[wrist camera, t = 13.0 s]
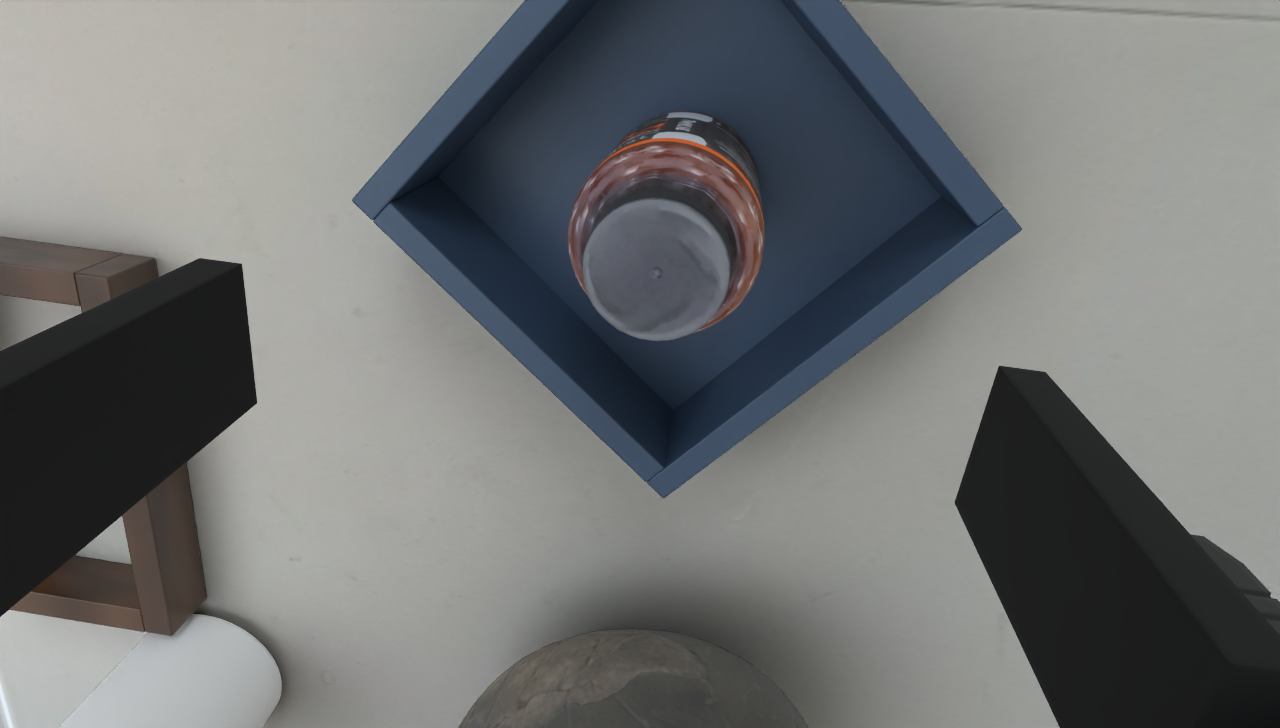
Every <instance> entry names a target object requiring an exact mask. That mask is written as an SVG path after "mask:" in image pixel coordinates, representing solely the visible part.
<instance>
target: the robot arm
mask: <svg viewBox="0 0 1280 728" xmlns="http://www.w3.org/2000/svg"><path fill="white" fill-rule="evenodd" d="M256 403H257V398H256V389H255V380H254V371H253V361H252V352H251V343H250V334H249V325H248V316H247V306H246V297H245V288H244V279H243V270H242V264H238V263H231V262H224V261H216V260H209V259H201V258H199V259H197V260H195V261H193V262H191V263H189V264H186V265H184V266H182V267H180V268H178V269H176V270H174V271H171V272H169V273H167V274H165V275H163V276H161V277H159V278H156V279H154V280H152V281H150V282H148V283H146V284H144V285H141V286H139V287H137V288H135V289H133V290H131V291H129V292H126V293H124V294H122V295H120V296H118V297H116V298H114V299H111V300H109V301H107V302H105V303H103V304H101V305H99V306H96V307H94V308H92V309H90V310H88V311H86V312H84V313H81V314H79V315H77V316H75V317H73V318H71V319H68V320H66V321H64V322H62V323H60V324H58V325H56V326H53V327H51V328H49V329H47V330H45V331H43V332H41V333H38V334H36V335H34V336H32V337H30V338H28V339H26V340H23V341H21V342H19V343H17V344H15V345H13V346H11V347H8V348H6V349H4V350H2V351H0V617H1V616H2V615H3V614H4V613H5V612H7V611H8V610H9V609H10V608H11V607H13V606H14V605H15V604H16V603H17V602H19V601H20V600H21V599H22V598H23V597H25V596H26V595H27V594H28V593H29V592H31V591H32V590H33V589H34V588H35V587H37V586H38V585H39V584H40V583H41V582H43V581H44V580H45V579H46V578H47V577H49V576H50V575H51V574H52V573H53V572H55V571H56V570H57V569H58V568H59V567H61V566H62V565H63V564H64V563H65V562H67V561H68V560H69V559H70V558H71V557H73V556H74V555H75V554H76V553H77V552H79V551H80V550H81V549H82V548H83V547H85V546H86V545H87V544H88V543H89V542H91V541H92V540H93V539H94V538H95V537H97V536H98V535H99V534H100V533H101V532H103V531H104V530H105V529H106V528H107V527H109V526H110V525H111V524H112V523H113V522H115V521H116V520H117V519H118V518H119V517H121V516H122V515H123V514H124V513H126V512H127V511H128V510H129V509H130V508H132V507H133V506H134V505H135V504H136V503H138V502H139V501H140V500H141V499H142V498H144V497H145V496H146V495H147V494H148V493H150V492H151V491H152V490H153V489H154V488H156V487H157V486H158V485H159V484H160V483H162V482H163V481H164V480H165V479H166V478H168V477H169V476H170V475H171V474H172V473H174V472H175V471H176V470H177V469H178V468H180V467H181V466H182V465H183V464H184V463H186V462H187V461H188V460H189V459H190V458H192V457H193V456H194V455H195V454H196V453H198V452H199V451H200V450H201V449H202V448H204V447H205V446H206V445H207V444H208V443H210V442H211V441H212V440H213V439H214V438H216V437H217V436H218V435H219V434H220V433H222V432H223V431H224V430H225V429H226V428H228V427H229V426H230V425H231V424H232V423H234V422H235V421H236V420H237V419H238V418H240V417H241V416H242V415H243V414H244V413H246V412H247V411H248V410H249V409H250V408H252V407H253V406H254V405H255V404H256ZM955 505H956V507H957V509H958V511H959V513H960V515H961V517H962V520H963V522H964V524H965V526H966V528H967V530H968V532H969V534H970V537H971V539H972V541H973V543H974V545H975V547H976V549H977V552H978V554H979V556H980V558H981V560H982V562H983V564H984V567H985V569H986V571H987V573H988V575H989V577H990V579H991V581H992V584H993V586H994V588H995V590H996V592H997V594H998V596H999V599H1000V601H1001V603H1002V605H1003V607H1004V609H1005V611H1006V614H1007V616H1008V618H1009V620H1010V622H1011V624H1012V626H1013V628H1014V631H1015V633H1016V635H1017V637H1018V639H1019V641H1020V643H1021V646H1022V648H1023V650H1024V652H1025V654H1026V656H1027V658H1028V661H1029V663H1030V665H1031V667H1032V669H1033V671H1034V673H1035V675H1036V678H1037V680H1038V682H1039V684H1040V686H1041V688H1042V690H1043V693H1044V695H1045V697H1046V699H1047V701H1048V703H1049V705H1050V707H1051V710H1052V712H1053V714H1054V716H1055V718H1056V720H1057V722H1058V725H1059V727H1060V728H1280V602H1279V601H1278V600H1277V599H1273V598H1271V597H1270V594H1271V593H1270V592H1269V591H1268V590H1267V589H1266V587H1265V586H1264V585H1263V584H1262V583H1261V582H1260V581H1259V580H1258V579H1257V578H1256V577H1255V576H1254V575H1253V574H1252V573H1251V572H1250V570H1249V569H1248V568H1247V567H1246V566H1245V565H1244V564H1243V563H1241V562H1240V561H1238V560H1237V559H1236V558H1234V557H1233V556H1231V555H1230V554H1228V553H1227V552H1225V551H1224V550H1223V549H1221V548H1220V547H1218V546H1217V545H1215V544H1214V543H1212V542H1211V541H1209V540H1208V539H1207V538H1205V537H1203V536H1196V535H1190V534H1189V533H1188V531H1187V530H1186V529H1185V528H1184V527H1183V526H1182V525H1181V524H1180V522H1179V521H1178V520H1177V519H1176V518H1175V517H1174V516H1173V515H1172V513H1171V512H1170V511H1169V510H1168V509H1167V508H1166V507H1165V506H1164V504H1163V503H1162V502H1161V501H1160V500H1159V499H1158V498H1157V497H1156V496H1155V494H1154V493H1153V492H1152V491H1151V490H1150V489H1149V488H1148V487H1147V485H1146V484H1145V483H1144V482H1143V481H1142V480H1141V479H1140V478H1139V476H1138V475H1137V474H1136V473H1135V472H1134V471H1133V470H1132V469H1131V467H1130V466H1129V465H1128V464H1127V463H1126V462H1125V461H1124V460H1123V459H1122V457H1121V456H1120V455H1119V454H1118V453H1117V452H1116V451H1115V450H1114V448H1113V447H1112V446H1111V445H1110V444H1109V443H1108V442H1107V441H1106V439H1105V438H1104V437H1103V436H1102V435H1101V434H1100V433H1099V432H1098V430H1097V429H1096V428H1095V427H1094V426H1093V425H1092V424H1091V423H1090V421H1089V420H1088V419H1087V418H1086V417H1085V416H1084V415H1083V414H1082V413H1081V411H1080V410H1079V409H1078V408H1077V407H1076V406H1075V405H1074V404H1073V402H1072V401H1071V400H1070V399H1069V398H1068V397H1067V396H1066V395H1065V393H1064V392H1063V391H1062V390H1061V389H1060V388H1059V387H1058V386H1057V384H1056V383H1055V382H1054V381H1053V380H1052V379H1051V378H1050V377H1049V376H1048V374H1047V373H1046V372H1041V371H1034V370H1026V369H1019V368H1011V367H1004V366H999V368H998V371H997V374H996V377H995V380H994V383H993V386H992V389H991V392H990V395H989V398H988V401H987V405H986V408H985V411H984V414H983V417H982V420H981V423H980V426H979V429H978V432H977V435H976V438H975V441H974V445H973V448H972V451H971V454H970V457H969V460H968V463H967V466H966V469H965V472H964V475H963V478H962V482H961V485H960V488H959V491H958V494H957V497H956V500H955Z"/></svg>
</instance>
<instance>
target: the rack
mask: <svg viewBox="0 0 1280 728" xmlns="http://www.w3.org/2000/svg"><path fill="white" fill-rule="evenodd" d="M156 278H158V275H157V269H156V262H155V259H154V258H149V257H142V256H135V255H128V254H122V253H115V252H108V251H100V250H93V249H86V248H79V247H72V246H64V245H57V244H50V243H43V242H36V241H28V240H21V239H14V238H7V237H0V295H6V296H13V297H20V298H27V299H34V300H41V301H48V302H55V303H62V304H69V305H76V306H81V309H82V313H84V312H86V311H88V310H90V309H92V308H94V307H96V306H99V305H101V304H103V303H105V302H107V301H109V300H111V299H114V298H116V297H118V296H120V295H122V294H124V293H126V292H129V291H131V290H133V289H135V288H137V287H139V286H141V285H144V284H146V283H148V282H150V281H152V280H154V279H156ZM122 517H123V522H124V527H125V532H126V537H127V542H128V547H129V552H130V557H131V562H132V565H127V564H121V563H114V562H108V561H102V560H96V559H90V558H83V557H77V556H73V557H71V558H70V559H69V560H68V561H67V562H65V563H64V564H63V565H62V566H61V567H59V568H58V569H57V570H56V571H55V572H53V573H52V574H51V575H50V576H49V577H47V578H46V579H45V580H44V581H43V582H41V583H40V584H39V585H38V586H37V587H35V588H34V589H33V590H32V591H31V592H29V593H28V594H27V595H26V596H25V597H23V598H22V599H21V600H20V601H19V602H17V603H16V604H15V605H14V606H13V607H11V608H10V609H9V610H15V611H21V612H27V613H33V614H39V615H45V616H51V617H57V618H63V619H69V620H75V621H81V622H87V623H93V624H99V625H105V626H111V627H117V628H123V629H129V630H135V631H141V632H145V631H146V632H149V633H155V634H161V635H167V636H173V635H174V634H175V632H176V631H177V630H178V629H179V628H180V627H181V626H182V625H183V624H184V623H185V621H186V620H187V619H188V618H189V617H190V616H191V615H192V614H193V613H194V612H195V610H196V609H197V608H198V607H199V606H200V605H201V604H202V603H203V602H204V600H205V599H206V590H205V583H204V577H203V570H202V564H201V557H200V551H199V544H198V538H197V531H196V524H195V518H194V511H193V505H192V498H191V492H190V485H189V479H188V472H187V465H186V463H184V464H183V465H182V466H181V467H180V468H178V469H177V470H176V471H175V472H174V473H172V474H171V475H170V476H169V477H168V478H166V479H165V480H164V481H163V482H162V483H160V484H159V485H158V486H157V487H156V488H154V489H153V490H152V491H151V492H150V493H148V494H147V495H146V496H145V497H144V498H142V499H141V500H140V501H139V502H138V503H136V504H135V505H134V506H133V507H132V508H130V509H129V510H128V511H127V512H126V513H124V514H123V515H122Z"/></svg>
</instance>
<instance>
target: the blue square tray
mask: <svg viewBox="0 0 1280 728" xmlns="http://www.w3.org/2000/svg"><path fill="white" fill-rule="evenodd" d="M674 111H690V112H698V113H702V114H706V115H708V116H711V117H713V118H715V119H718V120H720V121H722V122H723V123H725V124H726V125H728V126H729V127H730V128H732V129H733V130H734V131H735V132H736V133H737V134H738V135H739V136H740V138H741V139H742V140H743V141H744V143H745V144H746V146H747V147H748V149H749V151H750V153H751V154H752V157H753V160H754V162H755V165H756V167H757V171H758V175H759V181H760V191H761V202H762V210H763V218H764V249H763V256H762V262H761V265H760V269H759V272H758V275H757V278H756V280H755V282H754V284H753V286H752V288H751V289H750V291H749V293H748V294H747V295H746V297H745V298H744V300H743V301H742V302H741V303H740V304H739V305H738V306H737V307H736V309H735V310H734V311H733V312H732V313H730V314H729V315H728V316H727V317H725V318H724V319H722V320H721V321H719V322H718V323H716V324H714V325H712V326H710V327H708V328H706V329H703V330H701V331H698V332H695V333H692V334H689V335H687V336H683V337H680V338H677V339H673V340H662V341H651V340H645V339H639V338H636V337H633V336H630V335H628V334H626V333H624V332H622V331H619V330H617V329H616V328H615V327H614V326H613V325H611V324H610V323H609V322H608V321H606V320H605V319H604V318H603V317H602V316H601V315H600V313H599V312H598V311H597V310H596V309H595V307H594V306H593V304H592V302H591V300H590V298H589V297H588V295H587V294H586V293H585V291H584V290H583V289H582V287H581V285H580V284H579V281H578V279H577V278H576V276H575V272H574V270H573V267H572V262H571V258H570V255H569V249H568V240H567V237H568V225H569V219H570V215H571V212H572V209H573V205H574V202H575V200H576V198H577V196H578V193H579V191H580V189H581V188H582V187H583V185H584V184H585V182H586V181H587V179H588V178H589V177H590V175H591V174H592V173H593V171H594V170H595V169H596V168H597V166H598V165H599V164H600V163H601V162H602V161H603V160H604V159H605V158H606V157H607V156H608V155H609V154H610V152H611V151H612V150H613V149H614V148H615V147H616V146H617V145H618V143H619V142H620V141H621V140H622V139H623V138H624V137H625V136H626V135H627V134H628V133H629V132H630V131H631V130H633V129H634V128H636V127H637V126H638V125H640V124H641V123H643V122H645V121H646V120H648V119H651V118H653V117H655V116H658V115H661V114H664V113H668V112H674ZM352 201H353V203H355V204H356V205H357V206H358V207H359V208H360V209H361V210H362V211H363V212H364V213H365V214H366V215H367V216H368V217H369V218H370V219H372V220H374V223H375V224H376V225H377V226H378V227H379V228H380V229H381V230H382V231H383V232H384V233H386V234H387V235H388V236H389V237H390V238H391V239H392V240H393V241H394V242H395V243H396V244H397V245H398V246H399V247H400V248H401V249H402V250H403V251H404V252H405V253H407V254H408V255H409V256H410V257H411V258H412V259H413V260H414V261H415V262H416V263H417V264H418V265H419V266H420V267H421V268H422V269H423V270H424V271H425V272H426V273H427V274H429V275H430V276H431V277H432V278H433V279H434V280H435V281H436V282H437V283H438V284H439V285H440V286H441V287H442V288H443V289H444V290H445V291H446V292H447V293H448V294H449V295H451V296H452V297H453V298H454V299H455V300H456V301H457V302H458V303H459V304H460V305H461V306H462V307H463V308H464V309H465V310H466V311H467V312H468V313H469V314H470V315H471V316H473V317H474V318H475V319H476V320H477V321H478V322H479V323H480V324H481V325H482V326H483V327H484V328H485V329H486V330H487V331H488V332H489V333H490V334H491V335H492V336H493V337H495V338H496V339H497V340H498V341H499V342H500V343H501V344H502V345H503V346H504V347H505V348H506V349H507V350H508V351H509V352H510V353H511V354H512V355H513V356H514V357H515V358H517V359H518V360H519V361H520V362H521V363H522V364H523V365H524V366H525V367H526V368H527V369H528V370H529V371H530V372H531V373H532V374H533V375H534V376H535V377H536V378H537V379H539V380H540V381H541V382H542V383H543V384H544V385H545V386H546V387H547V388H548V389H549V390H550V391H551V392H552V393H553V394H554V395H555V396H556V397H557V398H558V399H559V400H561V401H562V402H563V403H564V404H565V405H566V406H567V407H568V408H569V409H570V410H571V411H572V412H573V413H574V414H575V415H576V416H577V417H578V418H579V419H580V420H581V421H583V422H584V423H585V424H586V425H587V426H588V427H589V428H590V429H591V430H592V431H593V432H594V433H595V434H596V435H597V436H598V437H599V438H600V439H601V440H602V441H604V442H605V443H606V444H607V445H608V446H609V447H610V448H611V449H612V450H613V451H614V452H615V453H616V454H617V455H618V456H619V457H620V458H621V459H622V460H623V461H624V462H626V463H627V464H628V465H629V466H630V467H631V468H632V469H633V470H634V471H635V472H636V473H637V474H638V475H639V476H640V477H641V478H642V479H643V480H644V481H646V482H647V483H648V484H649V485H650V486H651V487H652V488H653V489H654V490H655V491H656V492H657V493H658V494H659V495H660V496H661V497H662V498H665V497H666V496H668V495H669V494H670V493H672V492H673V491H674V490H676V489H677V488H678V487H680V486H681V485H682V484H684V483H685V482H686V481H688V480H689V479H690V478H692V477H693V476H694V475H696V474H697V473H698V472H700V471H701V470H702V469H704V468H705V467H706V466H708V465H709V464H710V463H712V462H713V461H714V460H716V459H717V458H718V457H720V456H721V455H722V454H724V453H725V452H726V451H728V450H729V449H730V448H732V447H733V446H734V445H736V444H737V443H738V442H740V441H741V440H742V439H744V438H745V437H746V436H748V435H749V434H750V433H752V432H753V431H754V430H756V429H757V428H758V427H760V426H761V425H762V424H764V423H765V422H766V421H768V420H769V419H770V418H772V417H773V416H774V415H776V414H777V413H778V412H780V411H781V410H782V409H784V408H785V407H786V406H788V405H789V404H790V403H792V402H793V401H794V400H796V399H797V398H798V397H800V396H801V395H802V394H804V393H805V392H806V391H808V390H809V389H810V388H812V387H813V386H814V385H816V384H817V383H818V382H820V381H821V380H822V379H824V378H825V377H826V376H828V375H829V374H830V373H832V372H833V371H834V370H836V369H837V368H838V367H840V366H841V365H842V364H844V363H845V362H846V361H848V360H849V359H851V358H852V357H853V356H855V355H856V354H857V353H859V352H860V351H861V350H863V349H864V348H865V347H867V346H868V345H869V344H871V343H872V342H873V341H875V340H876V339H877V338H879V337H880V336H881V335H883V334H884V333H885V332H887V331H888V330H889V329H891V328H892V327H893V326H895V325H896V324H897V323H899V322H900V321H901V320H903V319H904V318H905V317H907V316H908V315H909V314H911V313H912V312H913V311H915V310H916V309H917V308H919V307H920V306H921V305H923V304H924V303H925V302H927V301H928V300H929V299H931V298H932V297H933V296H935V295H936V294H937V293H939V292H940V291H941V290H943V289H944V288H945V287H947V286H948V285H949V284H951V283H952V282H953V281H955V280H956V279H957V278H959V277H960V276H961V275H963V274H964V273H965V272H967V271H968V270H969V269H971V268H972V267H973V266H975V265H976V264H977V263H979V262H980V261H981V260H983V259H984V258H985V257H987V256H988V255H989V254H991V253H992V252H993V251H995V250H996V249H997V248H999V247H1000V246H1001V245H1003V244H1004V243H1005V242H1007V241H1008V240H1009V239H1011V238H1012V237H1013V236H1015V235H1016V234H1017V233H1019V232H1020V231H1021V230H1022V228H1021V227H1020V225H1019V224H1018V223H1017V222H1016V220H1015V219H1014V218H1013V217H1012V215H1011V214H1010V213H1009V212H1008V210H1007V209H1006V208H1005V207H1003V204H1002V203H1001V202H1000V201H999V199H998V198H997V197H996V196H995V194H994V193H993V192H992V191H991V189H990V188H989V187H988V186H987V184H986V183H985V182H984V181H983V179H982V178H981V177H980V176H979V174H978V173H977V172H976V171H975V169H974V168H973V167H972V166H971V164H970V163H969V162H968V161H967V159H966V158H965V157H964V156H963V154H962V153H961V152H960V151H959V149H958V148H957V147H956V146H955V144H954V143H953V142H952V141H951V139H950V138H949V137H948V136H947V134H946V133H945V132H944V131H943V129H942V128H941V127H940V126H939V124H938V123H937V122H936V121H935V119H934V118H933V117H932V116H931V114H930V113H929V112H928V111H927V109H926V108H925V107H924V106H923V104H922V103H921V102H920V101H919V99H918V98H917V97H916V96H915V94H914V93H913V92H912V91H911V89H910V88H909V87H908V86H907V84H906V83H905V82H904V81H903V79H902V78H901V77H900V76H899V74H898V73H897V72H896V71H895V69H894V68H893V67H892V66H891V64H890V63H889V62H888V61H887V59H886V58H885V57H884V56H883V54H882V53H881V52H880V51H879V49H878V48H877V47H876V46H875V44H874V43H873V42H872V41H871V39H870V38H869V37H868V36H867V34H866V33H865V32H864V31H863V29H862V28H861V27H860V26H859V24H858V23H857V22H856V21H855V19H854V18H853V17H852V16H851V14H850V13H849V12H848V11H847V9H846V8H845V7H844V6H843V4H842V3H841V2H840V1H839V0H525V1H524V2H523V3H522V5H521V6H520V7H519V8H518V9H517V10H516V11H515V13H514V14H513V15H512V16H511V17H510V18H509V20H508V21H507V22H506V23H505V24H504V25H503V26H502V28H501V29H500V30H499V31H498V32H497V33H496V34H495V36H494V37H493V38H492V39H491V40H490V41H489V43H488V44H487V45H486V46H485V47H484V48H483V49H482V51H481V52H480V53H479V54H478V55H477V56H476V57H475V59H474V60H473V61H472V62H471V63H470V64H469V66H468V67H467V68H466V69H465V70H464V71H463V72H462V74H461V75H460V76H459V77H458V78H457V79H456V80H455V82H454V83H453V84H452V85H451V86H450V87H449V89H448V90H447V91H446V92H445V93H444V94H443V95H442V97H441V98H440V99H439V100H438V101H437V102H436V103H435V105H434V106H433V107H432V108H431V109H430V110H429V112H428V113H427V114H426V115H425V116H424V117H423V118H422V120H421V121H420V122H419V123H418V124H417V125H416V126H415V128H414V129H413V130H412V131H411V132H410V133H409V135H408V136H407V137H406V138H405V139H404V140H403V141H402V143H401V144H400V145H399V146H398V147H397V148H396V149H395V151H394V152H393V153H392V154H391V155H390V156H389V158H388V159H387V160H386V161H385V162H384V163H383V164H382V166H381V167H380V168H379V169H378V170H377V171H376V172H375V174H374V175H373V176H372V177H371V178H370V179H369V181H368V182H367V183H366V184H365V185H364V186H363V187H362V189H361V190H360V191H359V192H358V193H357V194H356V195H355V197H354V198H353V200H352Z"/></svg>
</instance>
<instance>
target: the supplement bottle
mask: <svg viewBox="0 0 1280 728" xmlns="http://www.w3.org/2000/svg"><path fill="white" fill-rule="evenodd" d="M567 240H568V249H569V255H570V258H571V262H572V267H573V270H574V272H575V276H576V278H577V279H578V281H579V284H580V285H581V287H582V289H583V290H584V291H585V293H586V294H587V295H588V297H589V298H590V300H591V302H592V304H593V306H594V307H595V309H596V310H597V311H598V312H599V313H600V315H601V316H602V317H603V318H604V319H605V320H606V321H608V322H609V323H610V324H611V325H613V326H614V327H615V328H616V329H617V330H619V331H622V332H624V333H626V334H628V335H630V336H633V337H636V338H639V339H645V340H651V341H662V340H673V339H677V338H680V337H683V336H687V335H689V334H692V333H695V332H698V331H701V330H703V329H706V328H708V327H710V326H712V325H714V324H716V323H718V322H719V321H721V320H722V319H724V318H725V317H727V316H728V315H729V314H730V313H732V312H733V311H734V310H735V309H736V307H737V306H738V305H739V304H740V303H741V302H742V301H743V300H744V298H745V297H746V295H747V294H748V293H749V291H750V289H751V288H752V286H753V284H754V282H755V280H756V278H757V275H758V272H759V269H760V265H761V262H762V256H763V249H764V218H763V210H762V202H761V191H760V181H759V175H758V171H757V167H756V165H755V162H754V160H753V157H752V154H751V153H750V151H749V149H748V147H747V146H746V144H745V143H744V141H743V140H742V139H741V138H740V136H739V135H738V134H737V133H736V132H735V131H734V130H733V129H732V128H730V127H729V126H728V125H726V124H725V123H723V122H722V121H720V120H718V119H715V118H713V117H711V116H708V115H706V114H702V113H698V112H690V111H674V112H668V113H664V114H661V115H658V116H655V117H653V118H651V119H648V120H646V121H645V122H643V123H641V124H640V125H638V126H637V127H636V128H634V129H633V130H631V131H630V132H629V133H628V134H627V135H626V136H625V137H624V138H623V139H622V140H621V141H620V142H619V143H618V145H617V146H616V147H615V148H614V149H613V150H612V151H611V152H610V154H609V155H608V156H607V157H606V158H605V159H604V160H603V161H602V162H601V163H600V164H599V165H598V166H597V168H596V169H595V170H594V171H593V173H592V174H591V175H590V177H589V178H588V179H587V181H586V182H585V184H584V185H583V187H582V188H581V189H580V191H579V193H578V196H577V198H576V200H575V202H574V205H573V209H572V212H571V215H570V219H569V225H568V237H567Z"/></svg>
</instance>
